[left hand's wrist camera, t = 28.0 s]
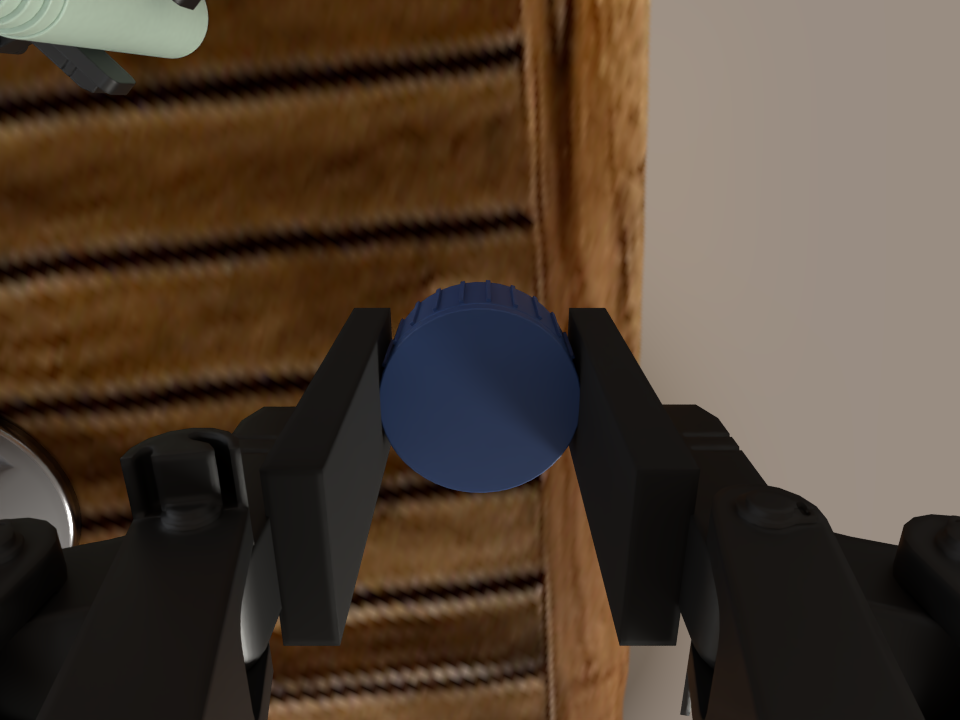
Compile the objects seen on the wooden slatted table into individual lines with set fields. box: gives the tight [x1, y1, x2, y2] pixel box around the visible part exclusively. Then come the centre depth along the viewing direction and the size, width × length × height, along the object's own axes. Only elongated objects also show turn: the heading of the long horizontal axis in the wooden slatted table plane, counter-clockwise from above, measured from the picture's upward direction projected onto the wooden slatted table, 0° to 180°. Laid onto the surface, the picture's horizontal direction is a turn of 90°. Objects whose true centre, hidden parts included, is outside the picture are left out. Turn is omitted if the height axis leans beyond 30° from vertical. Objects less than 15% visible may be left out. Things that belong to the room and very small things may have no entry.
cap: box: [379, 280, 580, 493], centre depth 13 cm, size 4×4×2 cm
